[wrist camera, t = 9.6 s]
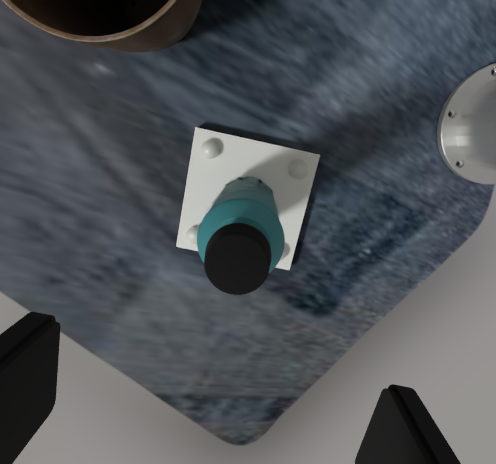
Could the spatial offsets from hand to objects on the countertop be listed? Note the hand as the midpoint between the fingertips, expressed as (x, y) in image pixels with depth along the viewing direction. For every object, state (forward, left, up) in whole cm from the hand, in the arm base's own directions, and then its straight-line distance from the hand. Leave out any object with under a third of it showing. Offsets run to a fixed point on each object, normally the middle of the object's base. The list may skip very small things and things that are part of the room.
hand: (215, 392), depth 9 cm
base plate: (0, 0, -31) cm, 31 cm away
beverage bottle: (0, 0, -30) cm, 30 cm away
